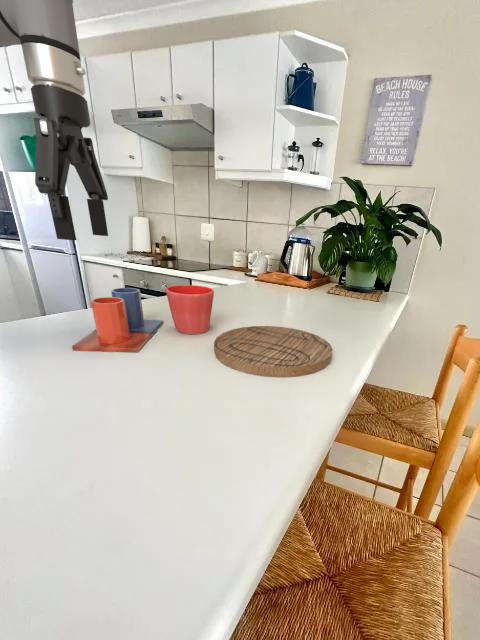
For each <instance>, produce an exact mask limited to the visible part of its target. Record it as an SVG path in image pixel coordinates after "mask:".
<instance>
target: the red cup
mask: <svg viewBox="0 0 480 640" xmlns="http://www.w3.org/2000/svg"><path fill="white" fill-rule="evenodd" d="M90 305H91V309H92V315H93V319H94V324H95V329H96V330H97V335H98V340H99V342H101V343H106V344H116V343H122V342H125V341H128V340H129V339H130V334H129V327H128V321H127V314H126V308H125V301H124V299H122V298H117V297H112V296H103V297H101V296H100V297H96V298H92V299H90Z"/></svg>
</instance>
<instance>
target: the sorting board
mask: <svg viewBox="0 0 480 640" xmlns="http://www.w3.org/2000/svg"><path fill="white" fill-rule="evenodd" d="M163 324H164V321H163V320H162V319H144V326H142V327H139V328H132V329H129V334H130V339H129V340H128V341H125V342H122V343H116V344H106V343H101V342H99V340H98V335H97V330H96V328H95V329H94V330H93V331H91V332H90V333H89V334H88V335H86V336H84V337H83V338H82V339H80V340H79V341H77V342H76V343H75V344H73V345H71V348H72V351H84V352H85V351H86V352H90V351H91V352H111V353H113V352H115V353H116V352H118V353H139V352H140V351H141V349H142V348H143V347H144V346H145V344H146V343H147V342H148V341H149V340H150V339H151V337H152V336H153V335H154V334H155V333H156V332H157V331H158V330H159V329H160V327H161V326H162V325H163Z"/></svg>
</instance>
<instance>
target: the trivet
mask: <svg viewBox="0 0 480 640" xmlns="http://www.w3.org/2000/svg"><path fill="white" fill-rule="evenodd" d="M333 350H334V349H333V347H332V345H331V343H330V342H328V341H327V340H326V339H325V338H323V337H321V336H320V335H317V334H315V333H311V332H308V331H306V330H301V329H297V328H292V327H286V326H274V325H252V326H242V327H238V328H233V329H229V330H227V331H223V332H222V333H221V334H219V335H218V336H216V338H215V339H214V342H213V352H214V355H215V358H216V359H217V360H218V361H220V363H221V364H223V365H224V366H227V367H229V368H230V369H233V370H236V371H239V372H241V373H245V374H249V375H255V376H261V377H271V378H273V377H274V378H291V377H302V376H307V375H311V374H315V373H317V372H320V371H322V370H325V368H327V367H328V366H329V365H331V361H332V358H333V357H332V356H333Z"/></svg>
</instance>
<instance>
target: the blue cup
mask: <svg viewBox="0 0 480 640" xmlns="http://www.w3.org/2000/svg"><path fill="white" fill-rule="evenodd" d="M110 293H111V294H110V295H111V297H117V298H122V299H124V301H125V308H126V314H127V321H128V327H129V329H132V328H139V327H142V326H144V320H145V317H144V311H143V304H142V303H143V302H142V295H141V294H142V293H141V290H140V288H134V287H117V288H116V287H115V288H112V289H110Z"/></svg>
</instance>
